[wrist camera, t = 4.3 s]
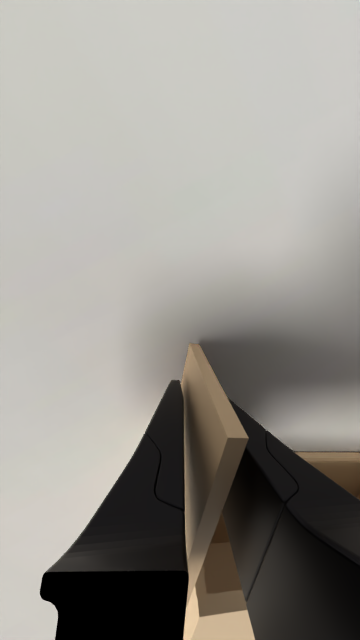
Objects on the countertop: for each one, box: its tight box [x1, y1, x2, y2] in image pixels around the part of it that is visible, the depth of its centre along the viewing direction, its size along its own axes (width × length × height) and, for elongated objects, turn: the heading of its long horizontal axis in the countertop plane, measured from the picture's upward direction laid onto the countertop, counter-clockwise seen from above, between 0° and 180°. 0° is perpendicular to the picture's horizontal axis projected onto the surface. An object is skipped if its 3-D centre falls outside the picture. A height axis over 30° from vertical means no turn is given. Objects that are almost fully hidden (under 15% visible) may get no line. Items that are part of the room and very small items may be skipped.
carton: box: [183, 452, 360, 640], centre depth 11 cm, size 16×10×6 cm, turn 81°
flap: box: [181, 343, 249, 608], centre depth 7 cm, size 8×1×5 cm, turn 170°
